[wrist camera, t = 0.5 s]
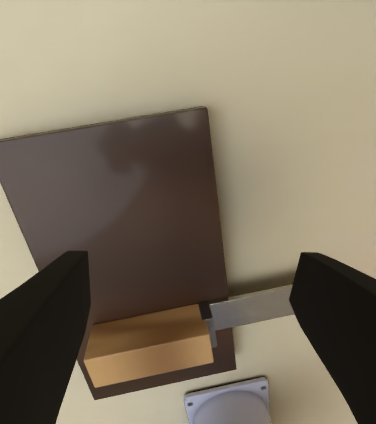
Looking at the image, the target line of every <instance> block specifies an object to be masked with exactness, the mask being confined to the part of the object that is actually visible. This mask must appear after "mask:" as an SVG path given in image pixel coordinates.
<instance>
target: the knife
mask: <svg viewBox="0 0 376 424" xmlns="http://www.w3.org/2000/svg"><path fill="white" fill-rule="evenodd" d="M292 285H293V284H291V285H286V286H281V287H276V288H271V289H266V290H262V291H257V292H252V293H247V294H242V295H237V296H232V297H227V298H222V299H217V300H212V301H206V302H201V303H198V304H194V305H189V306H184V307H179V308H174V309H169V310H164V311H159V312H154V313H150V314H145V315H140V316H135V317H130V318H125V319H120V320H115V321H110V322H105V323H100V324H95V325H93V326H92V329H91V333H90V337H89V341H88V345H87V349H86V353H85V357H84V363H85V366H86V368H87V370H88V373H89V375H90V378H91V380H92V382H93V385H94V387H95V388H97V387H102V386H106V385H111V384H115V383H120V382H125V381H129V380H134V379H139V378H143V377H148V376H153V375H157V374H162V373H167V372H171V371H176V370H180V369H185V368H190V367H194V366H199V365H204V364H208V363H213V362H214V359H213V353H212V348H213V347H217V340H216V333H215V331H216V330H221V329H226V328H231V327H236V326H240V325H245V324H250V323H255V322H260V321H264V320H269V319H274V318H279V317H283V316H288V315H293V314H294V311H293V309H292V306H291V304H290V302H289V297H290V293H291V289H292Z"/></svg>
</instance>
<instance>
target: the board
mask: <svg viewBox="0 0 376 424" xmlns="http://www.w3.org/2000/svg"><path fill="white" fill-rule="evenodd" d="M0 183H1V185H2V187H3V190H4V192H5V194H6V197H7V199H8V201H9V204H10V206H11V208H12V210H13V213H14V215H15V217H16V220H17V222H18V224H19V227H20V229H21V231H22V234H23V236H24V238H25V241H26V243H27V245H28V247H29V250H30V252H31V254H32V257H33V259H34V261H35V264H36V266H37V268H38V271H39V272H40V271H41V270H42V269H44V268H45V267H46V266H47V265H49V264H50V263H51V262H53V261H54V260H55V259H57V258H58V257H59V256H61V255H62V254H63V253H65V252H66V251H88V260H89V277H90V293H91V306H90V312H89V317H88V322H87V326H86V331H85V335H84V338H83V341H82V344H81V347H80V350H79V353H78V356H77V361H78V363H79V365H80V368H81V370H82V372H83V375H84V377H85V379H86V382H87V384H88V386H89V389H90V391H91V393H92V396H93V398H94V400H98V399H102V398H107V397H111V396H116V395H121V394H125V393H130V392H134V391H139V390H144V389H148V388H153V387H157V386H162V385H167V384H171V383H176V382H180V381H185V380H190V379H194V378H199V377H203V376H208V375H213V374H217V373H222V372H226V371H231V370H235V369H236V361H235V352H234V343H233V334H232V327H231V328H226V329H221V330H216V331H215V333H216V340H217V347H213V348H212V353H213V359H214V362H213V363H208V364H204V365H199V366H194V367H190V368H185V369H180V370H176V371H171V372H167V373H162V374H157V375H153V376H148V377H143V378H139V379H134V380H129V381H125V382H120V383H115V384H111V385H106V386H102V387H97V388H95V387H94V385H93V382H92V380H91V378H90V375H89V373H88V370H87V368H86V366H85V363H84V357H85V353H86V349H87V345H88V341H89V337H90V333H91V329H92V326H93V325H95V324H100V323H105V322H110V321H115V320H120V319H125V318H130V317H135V316H140V315H145V314H150V313H154V312H159V311H164V310H169V309H174V308H179V307H184V306H189V305H194V304H198V303H201V302H206V301H212V300H217V299H222V298H227V297H228V289H227V280H226V271H225V262H224V253H223V244H222V235H221V226H220V217H219V208H218V199H217V190H216V181H215V172H214V163H213V155H212V146H211V137H210V128H209V119H208V110H207V107H203V106H201V107H195V108H189V109H182V110H176V111H170V112H164V113H158V114H152V115H146V116H140V117H134V118H127V119H121V120H115V121H109V122H103V123H97V124H91V125H85V126H79V127H72V128H66V129H60V130H54V131H48V132H42V133H36V134H30V135H24V136H18V137H11V138H5V139H0Z"/></svg>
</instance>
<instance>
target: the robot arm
mask: <svg viewBox="0 0 376 424" xmlns="http://www.w3.org/2000/svg"><path fill="white" fill-rule="evenodd" d="M289 302H290V304H291V306H292V309H293V311H294V314H295V316H296V318H297V320H298V322H299V324H300V326H301V328H302V330H303V331H304V333H305V335H306V336H307V338H308V340H309V341H310V343H311V345H312V346H313V348H314V349H315V351H316V353H317V354H318V356H319V357H320V359H321V361H322V362H323V364H324V365H325V367H326V369H327V370H328V372H329V374H330V375H331V377H332V378H333V380H334V382H335V383H336V385H337V386H338V388H339V390H340V391H341V393H342V395H343V397H344V398H345V400H346V402H347V403H348V405H349V407H350V409H351V411H352V413H353V415H354V417H355V419H356V421H357V423H358V424H376V279H374V278H372V277H370V276H368V275H366V274H364V273H362V272H360V271H358V270H356V269H354V268H352V267H350V266H348V265H346V264H343V263H341V262H339V261H337V260H335V259H333V258H330V257H328V256H325V255H323V254H320V253H310V252H301V255H300V259H299V263H298V266H297V270H296V274H295V278H294V282H293V285H292V289H291V293H290V297H289ZM90 306H91V293H90V277H89V260H88V251H66V252H65V253H63V254H62V255H61V256H59V257H58V258H57V259H55V260H54V261H53V262H51V263H50V264H49V265H47V266H46V267H45V268H44V269H42V270H41V271H40V272H38V273H37V274H35V275H34V276H33V277H31V278H30V279H29V280H27V281H26V282H25V283H23V284H22V285H21V286H19V287H18V288H16V289H15V290H13V291H12V292H10V293H9V294H7V295H6V296H4V297H3V298H1V299H0V424H56V420H57V417H58V413H59V410H60V407H61V404H62V401H63V398H64V395H65V392H66V389H67V386H68V383H69V380H70V377H71V374H72V371H73V368H74V365H75V362H76V359H77V356H78V353H79V350H80V347H81V344H82V341H83V338H84V335H85V331H86V326H87V322H88V317H89V312H90ZM184 403H185V407H186V411H187V415H188V420H189V424H272V422H271V420H270V411H269V390H268V381H267V379H266V378H264V377H261V378H256V379H252V380H247V381H243V382H238V383H234V384H229V385H225V386H220V387H216V388H211V389H206V390H202V391H197V392H193V393H188V394H186V395H185V396H184Z"/></svg>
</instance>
